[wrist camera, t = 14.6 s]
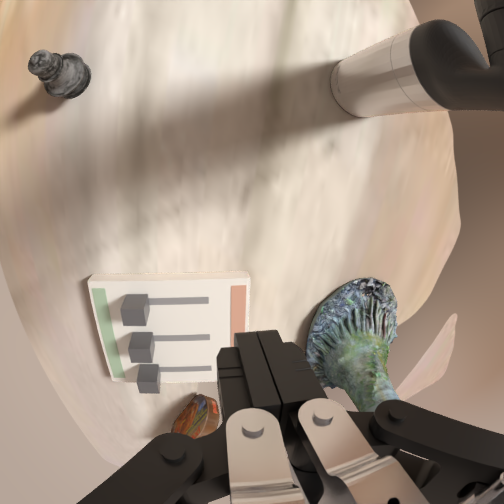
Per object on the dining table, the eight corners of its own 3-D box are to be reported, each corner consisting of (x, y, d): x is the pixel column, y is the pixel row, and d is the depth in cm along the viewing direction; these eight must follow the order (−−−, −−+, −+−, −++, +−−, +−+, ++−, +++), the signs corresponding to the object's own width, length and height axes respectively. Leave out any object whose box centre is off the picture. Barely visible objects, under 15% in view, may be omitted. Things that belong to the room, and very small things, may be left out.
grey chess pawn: (69, 109, 29) (23, 96, 18) (48, 83, 27) (1, 66, 16) (101, 77, 29) (65, 50, 18) (79, 52, 27) (40, 22, 16)
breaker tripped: (152, 332, 39) (149, 349, 35) (155, 345, 39) (152, 363, 36) (132, 332, 38) (127, 348, 34) (135, 345, 39) (131, 362, 35)
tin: (203, 385, 47) (207, 421, 39) (219, 390, 48) (225, 426, 40) (168, 428, 49) (168, 461, 42) (182, 432, 50) (184, 465, 43)
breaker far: (158, 364, 41) (156, 382, 37) (160, 375, 41) (159, 393, 38) (139, 364, 40) (136, 381, 36) (142, 375, 41) (139, 393, 37)
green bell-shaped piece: (413, 289, 49) (465, 364, 34) (351, 360, 59) (380, 433, 43) (340, 261, 43) (397, 361, 27) (275, 349, 52) (297, 441, 37)
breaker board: (247, 270, 41) (250, 278, 39) (243, 369, 47) (246, 379, 44) (92, 274, 37) (87, 281, 35) (115, 371, 43) (112, 381, 40)
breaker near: (147, 294, 37) (143, 309, 33) (150, 309, 37) (146, 326, 34) (126, 294, 36) (120, 309, 32) (128, 310, 37) (123, 326, 33)
